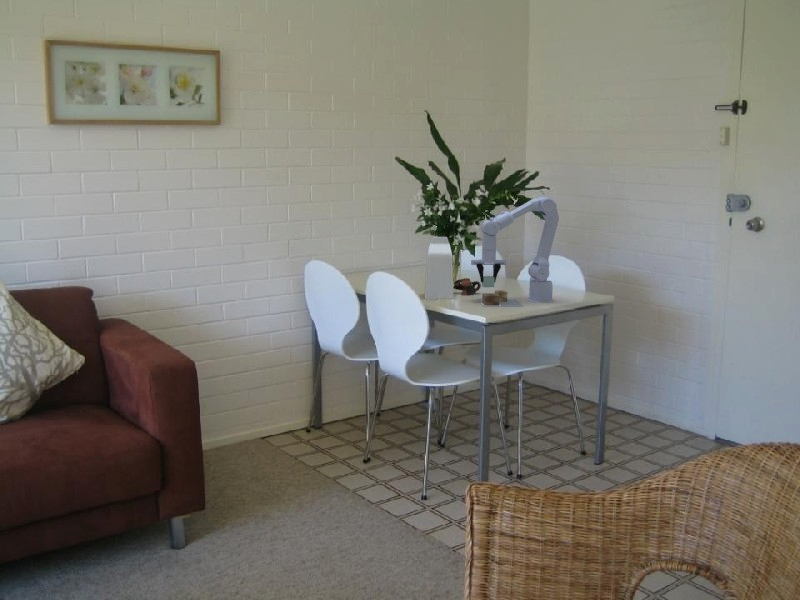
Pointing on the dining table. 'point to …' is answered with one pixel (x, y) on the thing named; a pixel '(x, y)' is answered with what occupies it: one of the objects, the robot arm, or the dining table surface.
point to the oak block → (502, 295)
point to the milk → (439, 270)
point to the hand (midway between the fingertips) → (488, 282)
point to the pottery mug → (467, 286)
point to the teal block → (488, 281)
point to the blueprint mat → (504, 303)
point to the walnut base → (490, 299)
